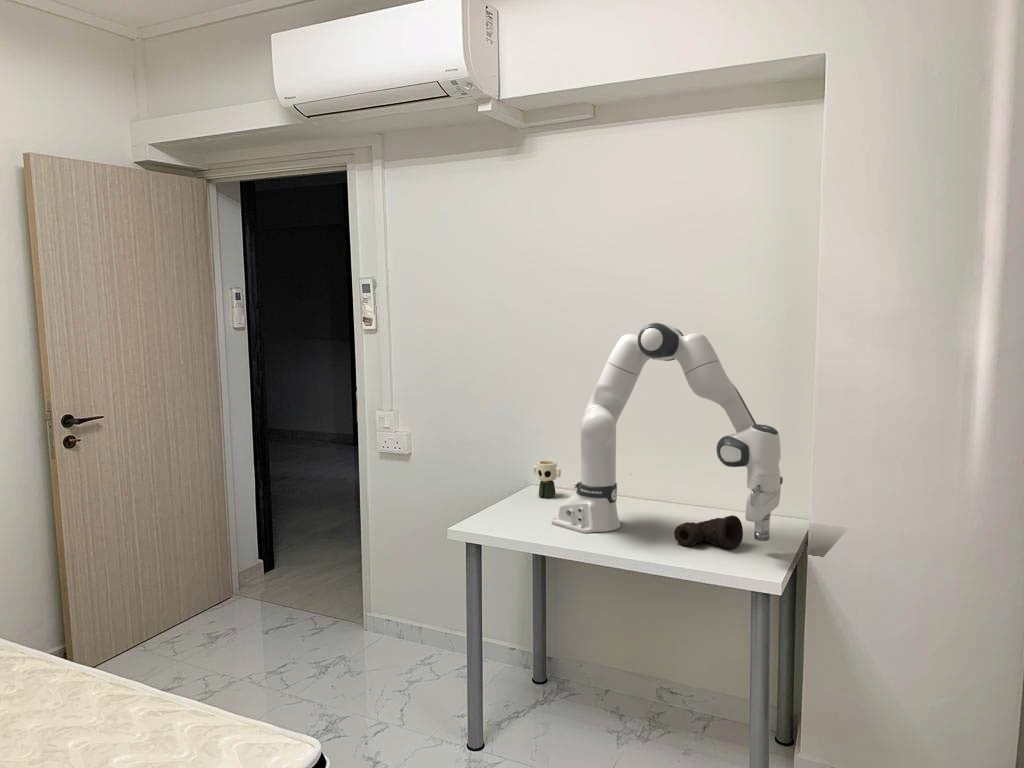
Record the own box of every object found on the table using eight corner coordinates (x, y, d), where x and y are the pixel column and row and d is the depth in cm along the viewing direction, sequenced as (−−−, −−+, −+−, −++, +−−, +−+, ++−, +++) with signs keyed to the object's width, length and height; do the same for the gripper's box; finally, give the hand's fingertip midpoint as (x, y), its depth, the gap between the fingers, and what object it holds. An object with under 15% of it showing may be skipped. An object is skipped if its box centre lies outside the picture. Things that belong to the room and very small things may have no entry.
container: (766, 542, 219) (767, 518, 218) (752, 539, 222) (752, 515, 221) (771, 538, 223) (772, 514, 222) (756, 535, 225) (757, 512, 224)
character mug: (529, 497, 286) (529, 462, 284) (537, 492, 292) (537, 459, 291) (556, 500, 281) (556, 465, 279) (564, 496, 287) (564, 461, 286)
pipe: (671, 518, 232) (714, 520, 221) (699, 511, 242) (742, 513, 231) (674, 551, 232) (717, 554, 221) (702, 543, 242) (745, 545, 231)
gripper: (763, 491, 210) (761, 541, 212) (784, 476, 226) (783, 522, 228) (740, 488, 213) (739, 537, 215) (763, 473, 230) (761, 518, 232)
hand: (762, 529), depth 222 cm, fingers closed on container, 4 cm apart
